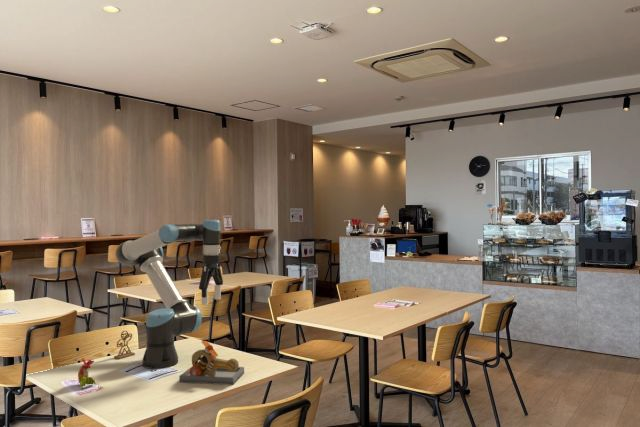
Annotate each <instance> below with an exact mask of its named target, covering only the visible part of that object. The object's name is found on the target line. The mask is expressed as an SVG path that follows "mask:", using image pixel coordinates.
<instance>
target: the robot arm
mask: <svg viewBox="0 0 640 427" xmlns="http://www.w3.org/2000/svg"><path fill="white" fill-rule="evenodd" d="M191 241H193V242H194V241H202V254H203V255H202V263H203V264H205V266H202V269H201V270H202V271H201V276H200V280H199V285H198V290H200V291H201V305H203V306H204V305H205V306H208V305H209V289H208V287H209V284H210V282H211V278H212V279H213V281H214V284H215V285H214V300H221V299H222V294H221V291H222V290H221V288H222V287H221V286H223V284H224V280H223V275H222V270H221V264H220V263H221V255H220V254H221V249H222V247H221V221H220V220H219V219H204V220H203V221H202V223H201V224H200V223H181V224H180V223H178V224H176V223H175V224H173V223H168V224H163V225H161V226H160V228H159V230H156V231H154V232H151V233H149V234H147V235H145V236H142V237H139V238H137V239H135V240H127V241H124V242H122V243H120V244H119V245H118V246H117V247H116V249H115V258H116V260H117V261H118V262H119V263H120V264H122V265H124V266H129V267H130V266H138V268H139V269H140V271H141V272H143V273H146V275H147V277H148V278H149V281H150V282H151V284H152V285H153V287H154V289H155V291H156V292H157V294H158V296H159V297H160V300H161V301H162V303H163V305H164V307H165V308H159V309H154V310H151V311H150V312H149V313H148V314H147V315H146V322H145V325H146V326H145V327H146V348H145V350H144V354H143V358H142V366H143V367H144V368H146V367H148V368H147V369H164V368H169V367H172V366H175V365H177V364H178V363H179V355H178V353H177V352H178V351H177V350H176V345H175V337H177V336H181V335H186V334H192V333H193V332H196V331H198V329H199V328H201V325H202V319H203V318H202V317H203V315H202V312H201V310H200V308H198V307H197V306H194V305H191V303H190V302H189V301H188V300H187V299H184V298H183V297H182V295H181V293H180V291H179V290H178V288H177V286H176V285H175V283H174V281H173V280H172V278H171V276H170V275H169V273H168V271H167V270H166V267H165V266H164V264H163V262H164V250H163V247H166V246H168V245H170V244H173V243H175V242H191Z"/></svg>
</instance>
